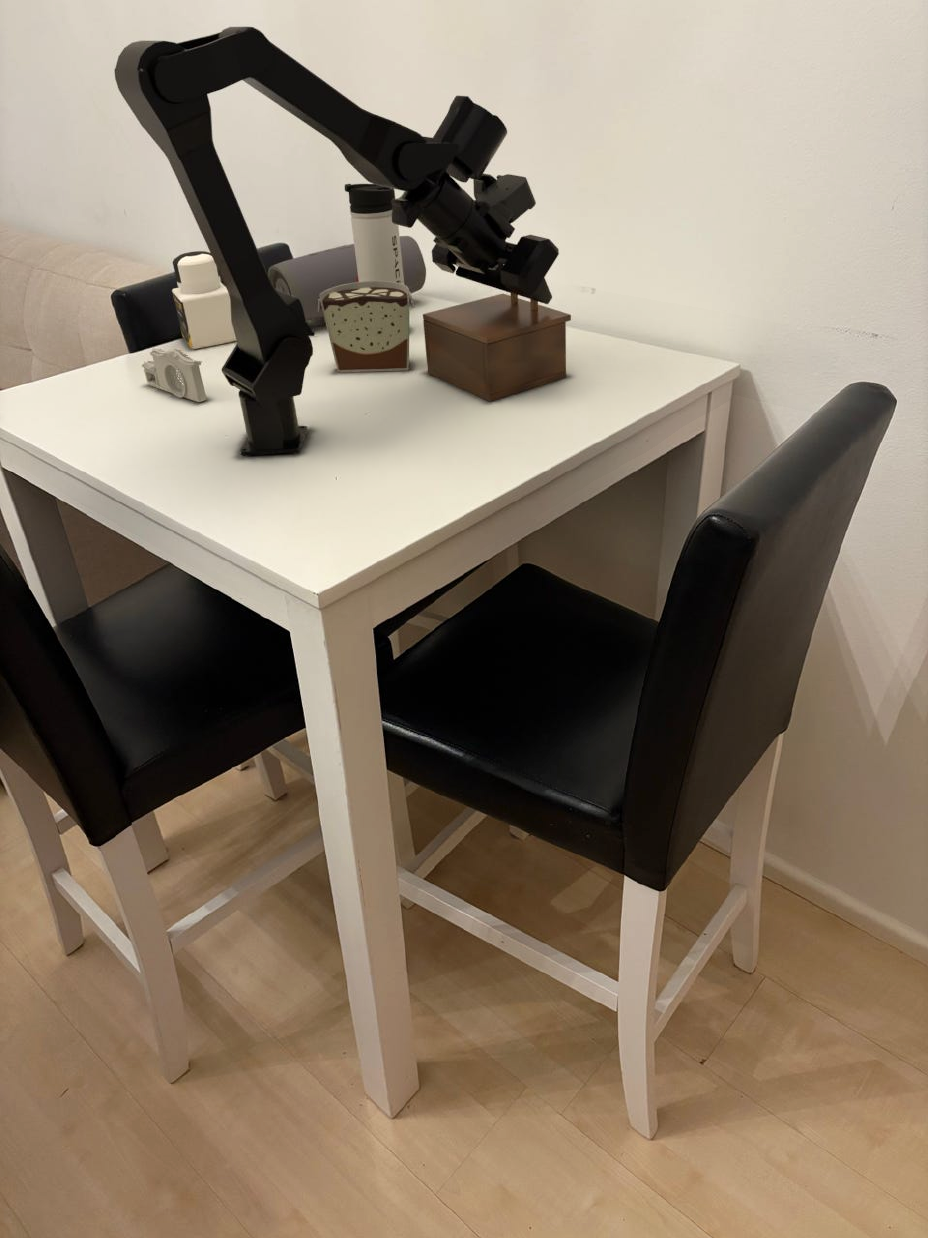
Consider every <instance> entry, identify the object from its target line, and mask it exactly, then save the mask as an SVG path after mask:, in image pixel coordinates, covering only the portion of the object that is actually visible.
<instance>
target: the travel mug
mask: <svg viewBox="0 0 928 1238" xmlns="http://www.w3.org/2000/svg"><path fill="white" fill-rule="evenodd" d="M395 190H396V189H393V188H388V187H383V186H379V185H375V184H373V183H346V184H344V191H345V192H346V193H348V199H349V200H348V202H349V213H350V222H351V230H352V237H353V244H354V247H355V255H356V263H357V271H358V279H359V282H363V281H391V282H397V283H401V284H404V276H403V266H402V256H401V246H400V236H401V235H400V227H399V226H400V225H397V224H394V223H392V208H393V207H392V203H391V201H392V199H396V193H395V192H396V191H395Z"/></svg>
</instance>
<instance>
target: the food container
mask: <svg viewBox="0 0 928 1238" xmlns="http://www.w3.org/2000/svg"><path fill="white" fill-rule="evenodd" d="M319 296H320V299H319V300H318V312H319V311H320V310H321V309H322V310H323V314H324V318H325V322H326V323H325V326H326V330H327V334H328V338H329V342H330V346H331V350H332V351H331V352H332V354H333V358H334V362H335V366H336V371H337V373H366V372H367V373H368V372H369V373H370V372H397V371H398V372H400V371H409V370H410V303H411V306H412V309H414V308H415V301H414V298H413V295H412V293H411V292H410V291H409V289H408V287H407V286H406V285H404V284H401V283H397V282H391V281H363V282H355V283H348V284H344V285H339V286H336V287H333V288H330V289H327V290H325V291H324V292H322V293H321V294H320V295H319Z"/></svg>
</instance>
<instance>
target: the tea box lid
mask: <svg viewBox="0 0 928 1238" xmlns="http://www.w3.org/2000/svg"><path fill="white" fill-rule="evenodd" d="M529 300H530V301H529ZM529 300H525V299H523V298H520V297H519V295H516V294H513V293H510V294H506V293H499V294H495V295H492V296H487V297H484V298H479V299H476V300H472V301H469V302H465V303H461V304H455V305H452V306H449V307H444V308H441V309H437V310H433V311H430V312H425V313H422V319H423V320H426V321H428V322H431V323H434V324H436V325H439V326H441V327H444V328H447V329H449V330H452V331H454V332H457V333H460V334H462V335H465V336H467V337H470V338H473V339H475V340H478V341H481V342H483V343H486V344H489V343H493V342H496V341H500V340H503V339H507V338H510V337H514V336H517V335H521V334H524V333H528V332H531V331H535V330H538V329H542V328H546V327H549V326H553V325H556V324H560V323H563V322H566V323H567V322H570V321H572V315H571V314H570V313H567V312H563V311H561V310H557V309H554V308H552V307H547V306H545V305H541V304H539V302H538V301H535V300H532V299H529ZM423 320H422V321H423Z"/></svg>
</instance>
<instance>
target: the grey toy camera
mask: <svg viewBox="0 0 928 1238" xmlns="http://www.w3.org/2000/svg"><path fill="white" fill-rule="evenodd" d="M149 355H150V356H152V360H145V361H144V362H143V363H142V364H141V368H143V372H144V376H145V380H146V383H147V384H148V386H151V387H153V388H157V389H158V390H159V389H160V390H162V391H165V392H168V393H171V394H173V395H174V396H175V397H176V398H185V399H187V400H191V401H193V402H197V403H201V402H203V401H206V400H207V395H206V391H205V386H204V382H203V378H202V372H201V369H200V366H202V363H203V361H201V360H195V359H194V358H192V357H190V356H188V354H187V353H184V351H182V350H180V349H172V348H171V349H168V350H163V349H162V348H155V347H153V348H152V349H151V351H150V352H149Z"/></svg>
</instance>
